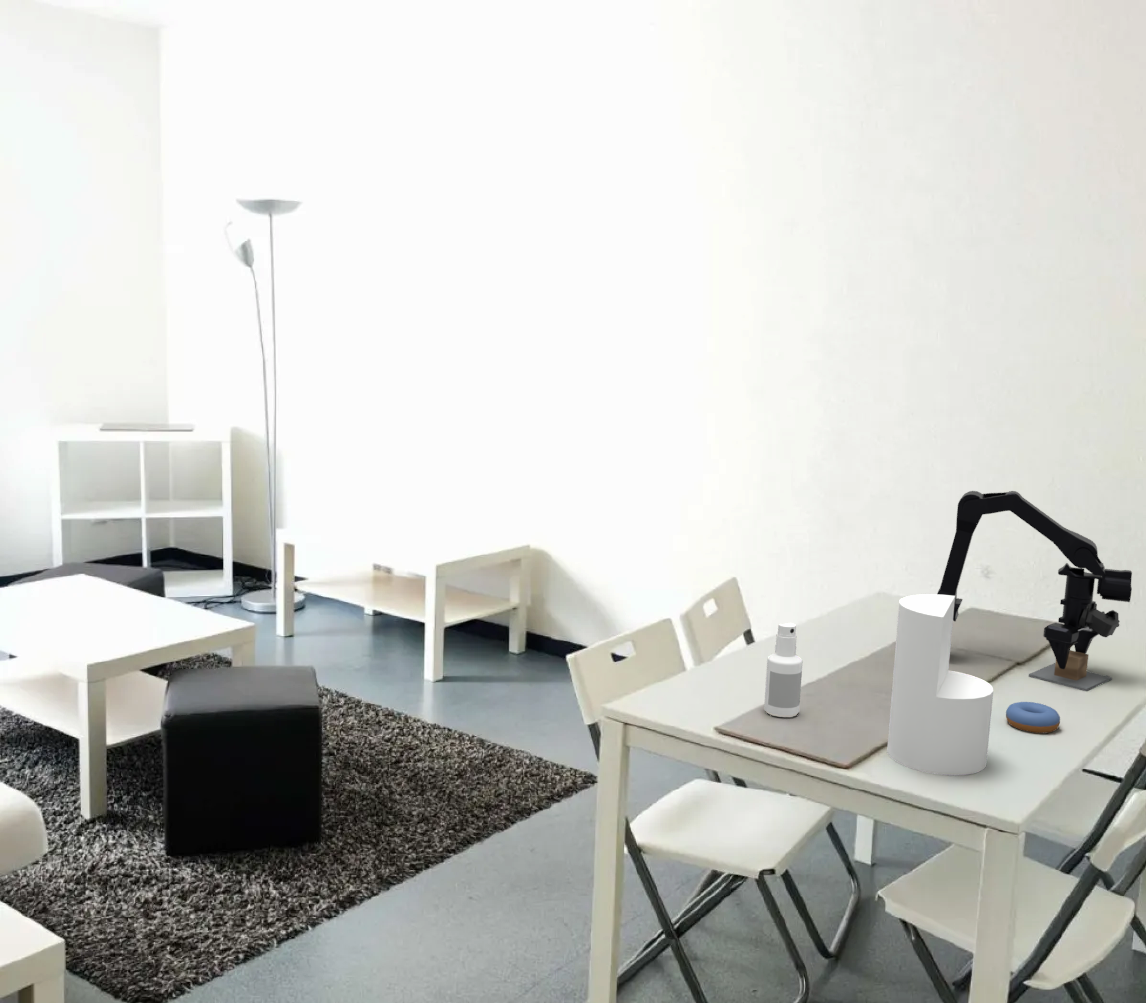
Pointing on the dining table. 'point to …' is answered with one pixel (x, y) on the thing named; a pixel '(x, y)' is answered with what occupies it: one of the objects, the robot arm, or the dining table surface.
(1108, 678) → the charcoal mat
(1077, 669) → the walnut cube
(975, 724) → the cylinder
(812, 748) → the dining table surface
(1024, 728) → the doughnut
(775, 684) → the spray bottle
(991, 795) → the dining table surface
